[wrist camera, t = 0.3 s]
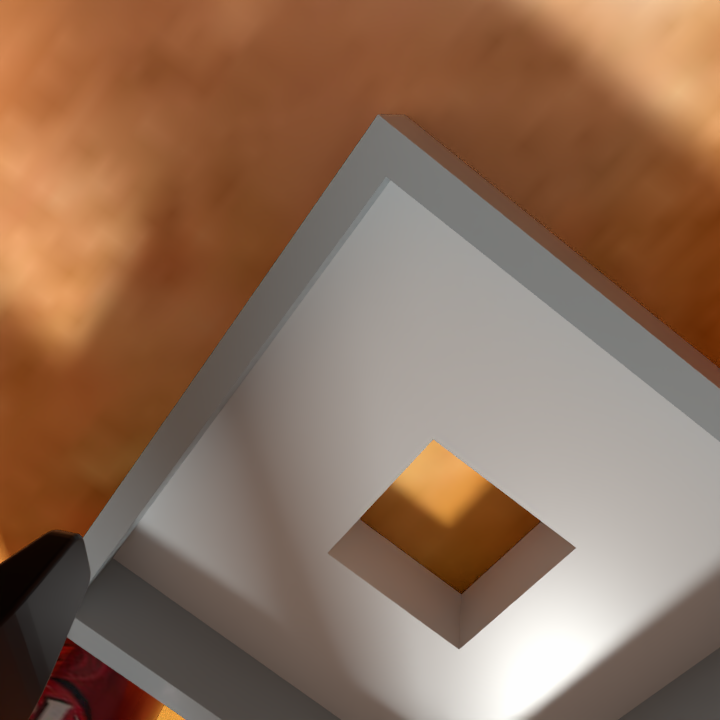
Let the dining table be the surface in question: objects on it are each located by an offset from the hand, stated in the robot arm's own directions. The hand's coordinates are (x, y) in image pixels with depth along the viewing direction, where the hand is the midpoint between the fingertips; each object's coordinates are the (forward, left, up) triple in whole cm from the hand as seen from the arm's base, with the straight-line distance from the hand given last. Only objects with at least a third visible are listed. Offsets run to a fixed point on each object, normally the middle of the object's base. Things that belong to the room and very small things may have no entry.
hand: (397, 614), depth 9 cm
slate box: (-6, -5, -15) cm, 17 cm away
